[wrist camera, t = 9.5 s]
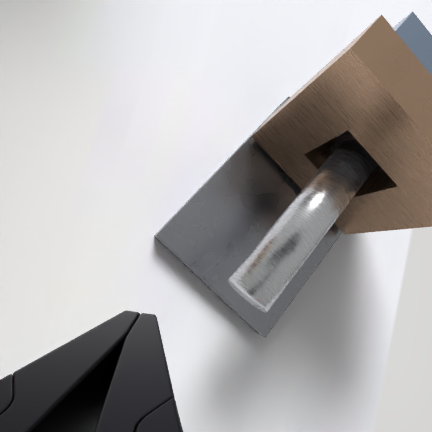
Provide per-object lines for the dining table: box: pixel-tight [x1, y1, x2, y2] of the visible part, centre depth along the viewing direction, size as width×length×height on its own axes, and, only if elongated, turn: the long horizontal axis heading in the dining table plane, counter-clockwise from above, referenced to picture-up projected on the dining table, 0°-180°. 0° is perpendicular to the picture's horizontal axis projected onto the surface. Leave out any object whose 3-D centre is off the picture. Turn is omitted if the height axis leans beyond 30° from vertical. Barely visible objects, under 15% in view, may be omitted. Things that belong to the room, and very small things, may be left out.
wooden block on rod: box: [251, 15, 432, 234], centre depth 18 cm, size 2×10×10 cm, turn 50°
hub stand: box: [155, 12, 432, 337], centre depth 18 cm, size 14×10×11 cm
